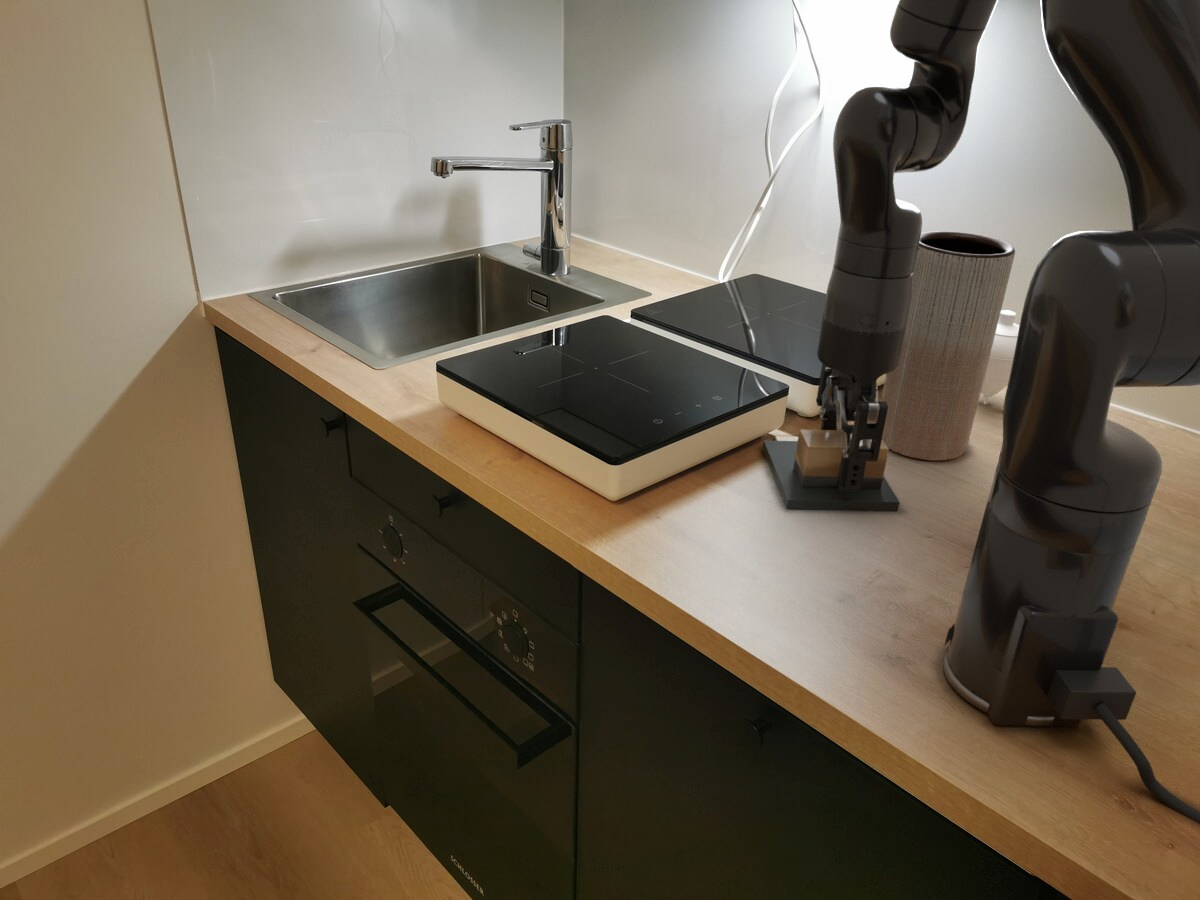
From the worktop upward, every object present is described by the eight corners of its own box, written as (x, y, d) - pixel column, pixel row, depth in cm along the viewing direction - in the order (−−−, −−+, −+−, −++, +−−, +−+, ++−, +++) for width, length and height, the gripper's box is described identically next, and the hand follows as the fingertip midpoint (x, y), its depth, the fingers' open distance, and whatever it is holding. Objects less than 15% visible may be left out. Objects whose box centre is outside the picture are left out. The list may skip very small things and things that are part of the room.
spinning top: (941, 393, 116) (961, 302, 110) (995, 390, 117) (1018, 301, 112) (973, 418, 109) (997, 323, 104) (1030, 415, 110) (1057, 321, 105)
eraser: (881, 488, 91) (889, 448, 89) (801, 487, 90) (808, 447, 88) (869, 469, 94) (877, 430, 92) (793, 468, 94) (799, 429, 92)
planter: (970, 468, 97) (1022, 259, 87) (874, 454, 100) (914, 249, 89) (962, 429, 106) (1009, 236, 96) (874, 417, 108) (910, 227, 98)
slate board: (897, 511, 89) (899, 502, 88) (786, 508, 88) (788, 500, 88) (860, 450, 100) (862, 442, 100) (762, 448, 100) (763, 440, 100)
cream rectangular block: (806, 436, 102) (805, 439, 103) (775, 436, 102) (775, 438, 102) (809, 442, 101) (808, 445, 101) (778, 442, 101) (777, 444, 101)
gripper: (931, 343, 78) (896, 508, 86) (881, 293, 91) (854, 440, 98) (845, 341, 78) (817, 506, 85) (807, 291, 91) (786, 438, 98)
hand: (837, 470), depth 92 cm, fingers open, 7 cm apart
